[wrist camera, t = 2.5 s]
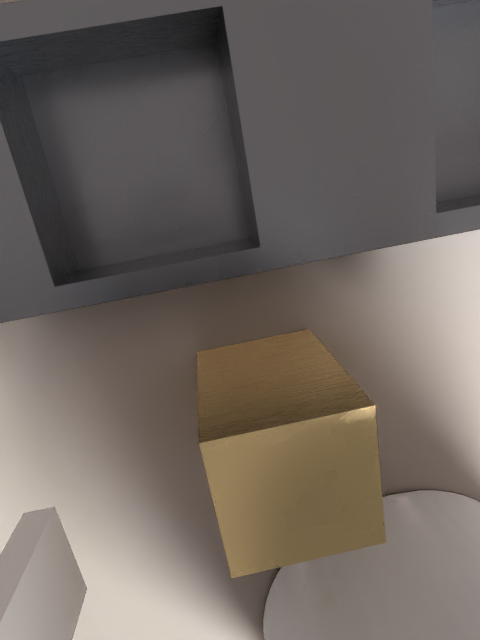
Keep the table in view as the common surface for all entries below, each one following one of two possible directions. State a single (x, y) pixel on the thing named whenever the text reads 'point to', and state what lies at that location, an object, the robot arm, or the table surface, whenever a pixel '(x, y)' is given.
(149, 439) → the table surface
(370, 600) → the utensil holder
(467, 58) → the grey slotted tray
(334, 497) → the block
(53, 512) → the robot arm
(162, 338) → the table surface
